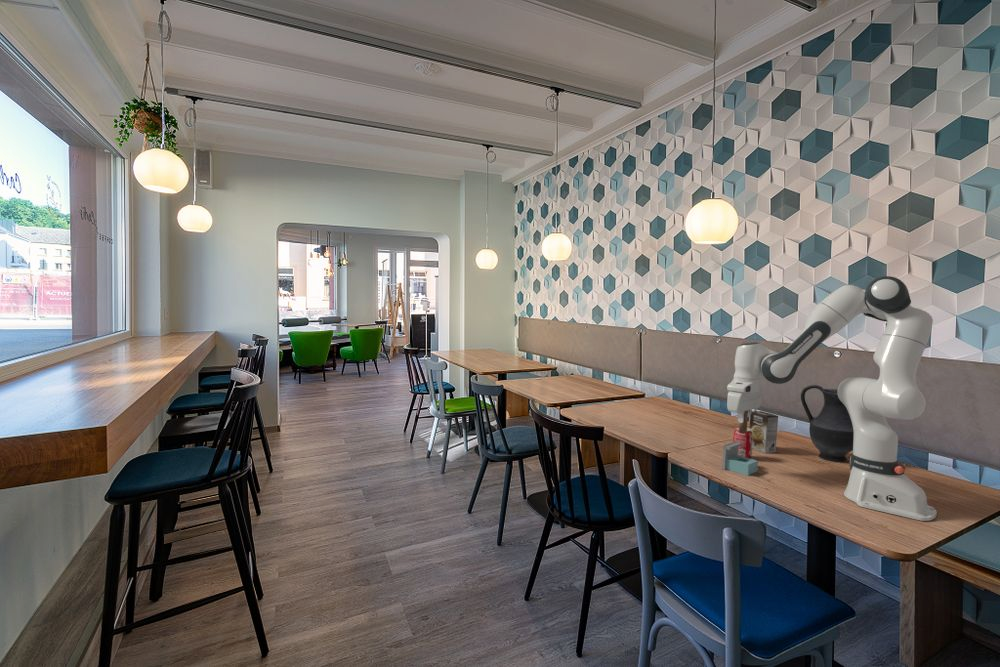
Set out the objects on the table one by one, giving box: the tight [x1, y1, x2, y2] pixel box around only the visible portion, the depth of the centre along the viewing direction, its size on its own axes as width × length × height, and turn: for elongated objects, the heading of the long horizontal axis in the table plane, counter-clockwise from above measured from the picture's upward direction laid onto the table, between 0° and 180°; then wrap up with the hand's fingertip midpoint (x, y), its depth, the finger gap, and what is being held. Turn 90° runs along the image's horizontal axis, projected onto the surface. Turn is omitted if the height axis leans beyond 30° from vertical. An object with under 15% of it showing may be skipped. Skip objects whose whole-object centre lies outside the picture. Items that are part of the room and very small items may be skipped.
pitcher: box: [800, 384, 854, 463], centre depth 193 cm, size 17×21×30 cm
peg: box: [738, 411, 748, 434], centre depth 176 cm, size 3×3×10 cm
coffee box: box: [749, 410, 779, 454], centre depth 203 cm, size 9×6×16 cm
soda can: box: [732, 426, 753, 459], centre depth 192 cm, size 7×7×12 cm
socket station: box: [721, 441, 759, 476], centre depth 177 cm, size 9×10×9 cm
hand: (743, 421), depth 176 cm, fingers closed on peg, 3 cm apart
